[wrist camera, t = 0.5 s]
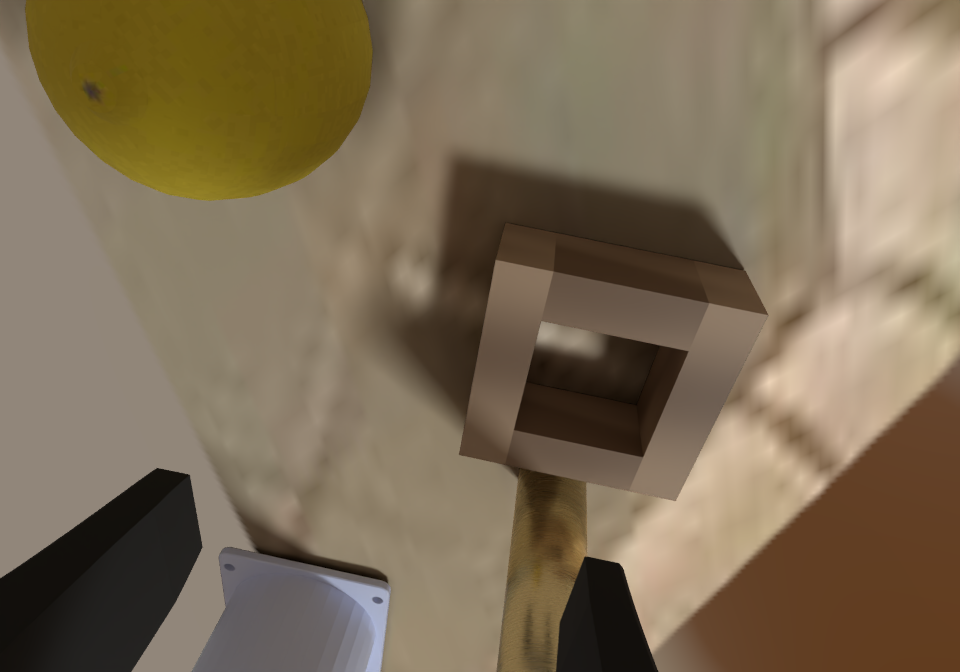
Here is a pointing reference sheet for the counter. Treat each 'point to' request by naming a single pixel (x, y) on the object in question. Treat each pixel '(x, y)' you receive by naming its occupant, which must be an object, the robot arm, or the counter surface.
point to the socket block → (618, 312)
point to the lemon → (205, 86)
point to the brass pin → (541, 568)
